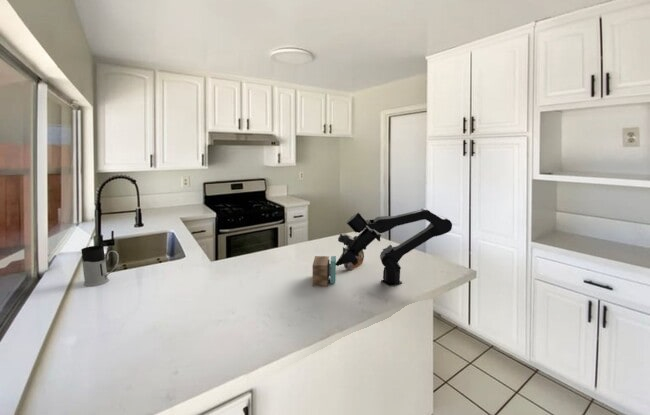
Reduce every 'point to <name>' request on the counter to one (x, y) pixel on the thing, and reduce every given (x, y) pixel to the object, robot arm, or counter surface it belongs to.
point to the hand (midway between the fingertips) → (336, 264)
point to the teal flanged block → (332, 269)
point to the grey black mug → (95, 265)
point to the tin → (360, 261)
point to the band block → (321, 271)
